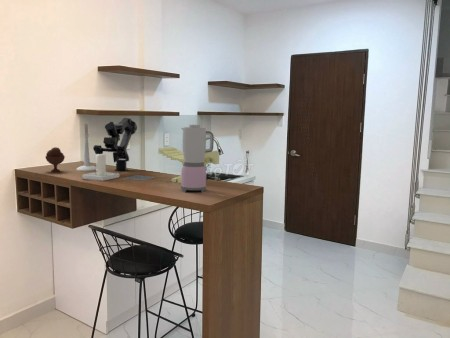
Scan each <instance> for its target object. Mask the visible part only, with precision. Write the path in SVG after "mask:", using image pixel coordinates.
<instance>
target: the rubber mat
mask: <svg viewBox="0 0 450 338" xmlns="http://www.w3.org/2000/svg"><path fill="white" fill-rule="evenodd" d="M155 178H157V176H149V175H138V174H135V175H130V176H127V177H123V178H122V179H123V180H131V181H133V180H134V181H147V180H152V179H155Z"/></svg>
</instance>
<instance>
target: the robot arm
mask: <svg viewBox="0 0 450 338" xmlns="http://www.w3.org/2000/svg"><path fill="white" fill-rule="evenodd" d="M104 129H105V131H106V134H107V137H106V136H104V137H103V144H104V147H103V146H102V145H101V144H100V145H99V144H97V145H96V144H95V145H93V151H94V153H95V155H96V154H104V152H107V153H112V156H113V157H112V159H113V162H114V163H116V164H115V168H116V169H114V171H118V172H125V171H129V169H128V168H127V162H129V161H130V157H129V154H128V151H127V149H128V146H129V143H130V140H131V138H132V135H134V134H136V132H137V130H138V125H137V123H136V122H135V121H134V120H132V118H129V117H127V118H126V117H123V118H122V119H121V121H118V123H114V121H109V122H108V123H106V124H104ZM120 135H123V136H122V138H121V136H120ZM108 136H109V137H108ZM119 141H120V143H119ZM118 143H119V144H118Z"/></svg>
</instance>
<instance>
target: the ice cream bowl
mask: <svg viewBox="0 0 450 338" xmlns="http://www.w3.org/2000/svg"><path fill="white" fill-rule="evenodd" d="M65 159H66V156H65V155H64V153H63V152H62V151H61V149H60V148H59V147H52V148H51V149H50V150H48V151H46V155H45V160H46V161H47V163H48V164H50V165H53V169H51V170H50V172H51V173H59V172H61V170H60V169H58V165H60V164H61V163H63V162H64V160H65Z"/></svg>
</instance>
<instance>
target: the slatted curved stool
mask: <svg viewBox="0 0 450 338" xmlns="http://www.w3.org/2000/svg"><path fill="white" fill-rule="evenodd" d="M157 153H158V154H159V155H161V154H162V156H164V157H166V159H167V158H168V159H170V160H171V161H179V162H181V164H182V166H183V165H184V156H183V151H181V150H179V149H178V148H176V147H172V146H171V147H170V146H169V147H160V148H158V152H157ZM208 164H213V165H219V164H220V153H219V151H218V150H213V151H211V152H207V153H205V157H204V166H205V168H206V167H207V165H208ZM170 182H171V183H178V184H179V183H180V184H181V175H179V176H177V177H176V176H175V177H172V178H171V180H170Z"/></svg>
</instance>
